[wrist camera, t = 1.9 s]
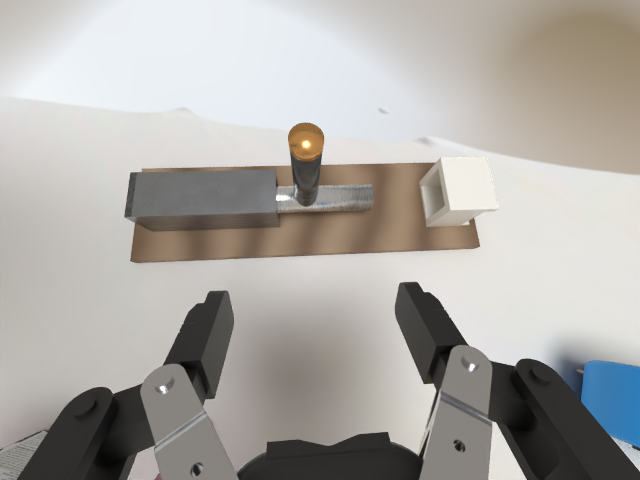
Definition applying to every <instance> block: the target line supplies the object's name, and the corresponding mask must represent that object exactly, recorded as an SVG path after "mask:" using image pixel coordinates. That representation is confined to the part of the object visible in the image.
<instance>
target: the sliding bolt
mask: <svg viewBox="0 0 640 480" xmlns="http://www.w3.org/2000/svg"><path fill="white" fill-rule="evenodd" d="M288 142H289V150H290V155H291V165H292V175H293V185H294V186H276V209H277V212H278V213H291V212H323V211H354V210H371V209H372V206H373V198H374V196H373V188H372V185H371V184H353V185H319V177H320V167H321V157H322V151H323V145H324V135H323V132H322V131H321V129H320V128H319V127H317V126H316V125H314V124H311V123H300V124H297V125H296V126H294V127H293V128H292V129H291V130H290V132H289V135H288Z"/></svg>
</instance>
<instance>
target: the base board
mask: <svg viewBox="0 0 640 480" xmlns="http://www.w3.org/2000/svg"><path fill="white" fill-rule="evenodd" d="M434 165H435V163H396V164H348V165H321V167H320V177H319V185H353V184H371V185H372V188H373V196H374V198H373V206H372V209H371V210H354V211H323V212H291V213H280V227H276V228H247V229H219V230H191V231H163V232H152V231H150V230H148V229H146V228H144V227H143V226H141V225H139V224H137V223H135V229H134V237H133V245H132V252H131V260H130V261H131V262H135V263H144V262H167V261H191V260H215V259H238V258H262V257H285V256H309V255H333V254H356V253H380V252H403V251H427V250H450V249H474V248H477V247H480V244H479V239H478V234H477V230H476V225H475V220H474V218H473V219H471V220H469V225H468V226H441V227H426V221H425V215H424V209H423V203H422V196H421V190H420V184H419V182H420V180H421V179H422V178H423V177H424V176H425V175H426V174H427V173H428V171H429V170H430V169H431V168H432V167H433V166H434ZM272 169H275V170H276V175H277V179H278V184H279V186H294V185H293V175H292V166H253V167H205V168H157V169H142V172H180V171H226V170H272Z"/></svg>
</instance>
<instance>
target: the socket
mask: <svg viewBox="0 0 640 480" xmlns="http://www.w3.org/2000/svg"><path fill="white" fill-rule="evenodd" d="M419 184H420V190H421V196H422V203H423V209H424V215H425V221H426V227H441V226H468V225H469V220H471V219H473V218H474V217H476V216H478V215H480V214H482V213H483V212H494V211H496V210H498V209H499V205H498V201H497V197H496V192H495V188H494V184H493V180H492V176H491V171H490V167H489V163H488V159H487V157H447V158H440V159H439V160H438V161H437V162H436V163H435V165H434V166H433V167H432V168H431V169H430V170H429V171H428V173H427V174H426V175H425V176H424V177H423V178H422V179H421V180H420V182H419Z"/></svg>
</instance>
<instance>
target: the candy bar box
mask: <svg viewBox="0 0 640 480" xmlns="http://www.w3.org/2000/svg"><path fill="white" fill-rule="evenodd" d="M47 433H48V432H46V431H40V432H38V433H35V434H33V435H31V436H29V437H27V438H24V439H22V440H20V441H18V442H16V443H14V444H11V445H9V446H7V447H4V448H2V449H0V480H17V478H18V477H19V475H20V474H21V472H22V471H23V469H24V468H25V466H26V465H27V463H28V462H29V460H30V459H31V457H32V456H33V454H34V452H35V451H36V449H37V448H38V446H39V445H40V443H41V442H42V440H43V439H44V437H45V436H46V434H47Z"/></svg>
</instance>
